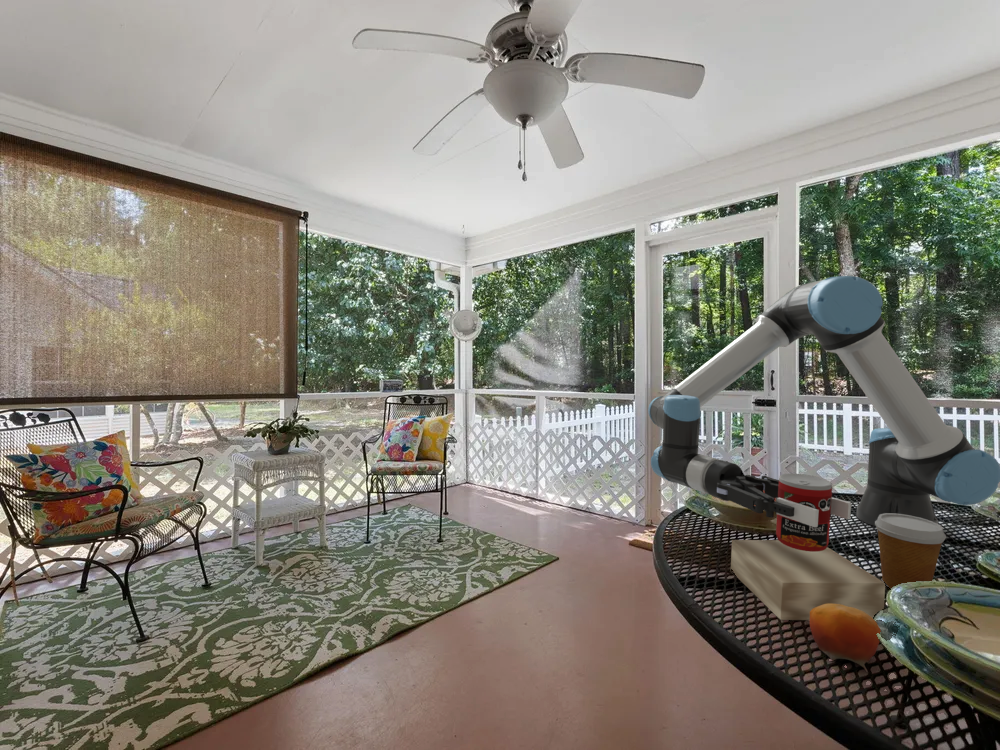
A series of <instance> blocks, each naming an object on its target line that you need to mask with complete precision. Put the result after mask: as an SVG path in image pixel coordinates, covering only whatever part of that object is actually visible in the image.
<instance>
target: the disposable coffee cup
mask: <svg viewBox="0 0 1000 750" xmlns="http://www.w3.org/2000/svg"><path fill="white" fill-rule="evenodd" d="M875 525H876V526H875V528H876V530H877V535H878V536H877V537H878V547H879V549H878V550H879V558H880V568H881V579H882V580H883V581H884V582H885V583H886V584H887V585H888V586H889V588H892V587H893V586H896V585H898V584H901V583H907V582H916V581H932V582H933V579H934V576H935V571H936V568H937V563H938V561H939V560H938V559H939V556H940V551H941V548H942V544H943V543H944V541H945V540H946V539H947V535H946V534H945V532H944V528H943V526H942V525H940V524H939V523H938V524H937V523H935V522H932V521H929V520H926V519H923V518H919V517H915V516H910V515H904V514H895V513H885V514H880V515H879V516H878V519H877V520H876V521H875ZM882 580H881V581H882ZM889 588H888V589H889Z"/></svg>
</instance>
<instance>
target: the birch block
mask: <svg viewBox="0 0 1000 750" xmlns="http://www.w3.org/2000/svg"><path fill="white" fill-rule="evenodd" d="M730 552H731V553H730V555H731V556H730V557H731V558H730V570H731V569H732V570H733V571H734V573H735V575H736V576H737V579H738V580H739V581H740V582H741V583H742V584H743V585H745V587H747V588H748V590H750V592H752V594H753V595H754V596H755V597H756V598H757V599H759V600H760V601H761V602H762V603H763V605H765V606H766V607H767V608H768V609H769V610H770V611H771V612H772V613H773V614H774V615H775V616H776V617H777V618H778V619H779V620H780V621H789V620H790V621H810V611H811V610H812V609H813V608H815V607H818V606H820V605H823V604H828V603H829V604H830V603H832V604H841V605H844V606H847V607H853V608H856V609H858V610H861V611H864V612H865V613H866V614H868V615H869V616H871V617H872V618H873V617H874V615H875V614H876V613H877V612H878V611H880V610H882V609H884V610H885V608H884V607H885V595H886V586H885V583H884V582H883V581H882V580H881V579H880V578H878V577H876V576H874V575H873V574H871V573H869V572H868V571H867V570H865V569H863V568H861V566H859V565H857V564H855V563H854V562H852V561H850V560H849V559H847V558H846V557H844V556H842V555H841V554H839V553H837V552H836V551H834V550H833V549H831V548H829V547H828V546H827V548H826V549H825V550H823V551H818V552H811V551H803V550H798V549H794V548H791V547H789V546H786V545H784V544H783V543H781V542H780V541H779V540H778V539H773V540H772V539H756V540H755V539H731V551H730ZM735 575H734V576H735ZM736 576H735V577H736Z"/></svg>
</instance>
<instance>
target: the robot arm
mask: <svg viewBox="0 0 1000 750" xmlns="http://www.w3.org/2000/svg"><path fill="white" fill-rule="evenodd" d="M883 305H884V303H883V298H882V296H881V293H880V291H879V289H878V288H877V287H876V286H875V285H874V284H873V283H872V282H870V281H869V280H868V279H865V278H862V277H859V276H856V275H855V276H853V275H838V276H837V275H836V276H830V277H826V278H824V279H821V280H817V281H813V282H807V283H803V284H800V285H798V286H796V287H794V288H793V289H791V290H789V291H787V292H786V293H785V294H784V295H782V296H781V297H780V298H778V299H777V300H776V301H775V302H774V303H772V304H771V305H770V306H769V307H768V308H767V309H765V310H764V311H763V312H762V313H760V314H759V315H758V316H757V317H756V319H755V323H754V324H753V325H752V326H751V327H750V328H748V329H747V330H746V331H744V332H743V333H742V334H741V335H740V336H738V337H736V338H735V339H734V340H733V341H732V342H731V343H729V344H728V345H727V346H725V347H724V348H723V349H721V350H720V351H719V352H718V353H717V354H715V355H714V356H713V357H712V358H710V359H709V360H708V361H706V362H705V363H704V364H702V365H701V366H700V367H698V369H696V370H695V371H693V372H692V373H691V374H690V375H688V376H687V377H686V378H685V379H684V380H683V381H681V382H680V383H678V384H677V385H676V386H675V387H673V388H672V389H671V390H669V391H668V392H667V393H666V394H665V395H662V396H657V397H655V398H653V400H651V402H650V403H649V405H648V408H647V409H648V410H647V411H648V412H647V413H648V416H649V419H650V420H651V422H652V423H653V424H654V425H656V426H657V427H659V428H661V429H662V444H661V445H660V446H658V447H655V449H654V451H653V455H652V456H651V458H650V467H651V469H652V471H653V473H654V474H656V475H657V476H658V477H661V479H662V478H663V479H665V480H667V481H668V482H670V483H674V484H677V485H680V486H684V487H687V488H689V489H692V490H696V491H697V492H700V494H701V495H703V496H704V495H706V494H707V495H710V496H711V497H714V498H717V499H719V500H723V501H725V502H732V503H734V504H736V505H739V506H741V507H743V508H745V509H748V510H750V511H753V512H754V513H757V514H764V512H766V513H765V516H766V518H770V519H771V518H774V513H775V515H777V514H778V515H781V516H784V517H787V518H789V519H792V520H795V521H798V522H801V523H804V524H807V525H809V526H812V527H818V513H819V510H817V509H814V508H811V507H808V506H805V505H802V504H798V503H795V502H792V501H789V500H786V499H783V498H778V485H779V479H776V478H773V477H771V476H767V475H762V476H761V478H760V477H757V476H756V475H750V474H745V473H744V471H743V470H742V468H741V467H740V466H739V465H738V464H737V463H733V462H729V461H726V460H722V459H719V458H715V457H711V456H707V455H705V454H704V455H703V454H699V440H700V426H701V425H700V424H701V415H702V411H701V408H702V406H704V405H705V404H707V403H708V402H709V401H711V400H712V399H713V398H715V396H717V395H719V394H720V393H721V392H722V391H724V390H725V389H726V388H727V387H729V386H730V385H731V384H733V383H734V382H735V381H737V380H738V379H739V378H741V377H742V376H743V375H744V374H746V373H747V372H748V371H750V370H751V369H752V368H754V367H755V366H756V365H758V364H759V363H760V362H761V361H763V360H764V359H765V358H767V357H768V356H769V355H770V354H772V353H773V352H775V351H776V350H777V349H778V348H780V347H781V348H787V347H788V346H789V345H791V344H792V343H793V342H794V341H797V340H798V339H801V338H803V337H807V336H809V335H813V336H814V337H815V339H816V340H817V341H818V344H820V346H821V348H822V349H823V350H824V351H825V352H828V353H833V354H837V356H838V357H839V359H840V360H841V362H842V363H843V364H844V366H845V368H847V370H848V372H849V373H850V375H851V376H852V378H853V379H854V380H855V382H856V383H857V384H858V385H859V387H860V389H861V390H862V392H863V393H864V395H865V396H866V397H867V399H868V400H869V402H870V403H871V404H872V407H874V410H876V412H877V413H878V414H879V416H880V417H881V420H883V422H884V423H885V425H886V426H887V427H878V428H875V429H873V430H872V431H871V432H870V437H869V441H868V445H869V447H868V465H867V466H868V467H867V469H868V470H867V483H866V487H865V488H866V489H865V491H864V492H863V495H862V497H861V499H860V501H859V503H858V505H857V507H856V518H857V519H859V520H860V521H861V522H864V523H865V524H868V525H870V526H874V527H876V525H875V521H876V520H877V519H878V516H879V515H880V514H885V513H895V514H904V515H910V516H915V517H919V518H923V519H926V520H929V521H932V522H935V523H937V524H939V520H938V518H937V516H936V513H935V509H934V505H933V503H932V500H931V496H934V497H936V498H938V499H940V500H942V501H943V502H948V503H953V504H956V505H961V506H971V505H972V506H973V505H976V504H980V503H982V502H985V501H986V500H988V499H989V498H990V497H991V496H993V494H994V493H995V492H996V491H997V490H998V488H999V483H1000V463H999V462H998V460H997V459H996V458H995V457H994V456H993V455H991V454H990V453H987V452H986V451H985V450H982V449H978V448H976V449H975V448H974V447H973V446H972V444H971V442H969V440H968V439H967V437H966V436H965V434H964V433H963V432H962V430H961V429H960V428H958V427H956V426H953V425H946V423H945V421H944V420H943V419H942V417H941V416H940V414H939V412H937V410H936V409H935V407H934V406H933V405H932V403H931V402H930V400H929V399H928V398H927V396H926V395H925V392H923V390H922V389H921V387H920V386H919V385H918V383H917V382H916V380H915V379H914V378H913V375H912V374H911V373H910V372H909V370H908V369H907V367H906V366H905V364H904V363H903V361H902V360H901V359H900V357H899V356H898V355H897V353H896V351H895V350H894V349H893V347H892V346H891V344H890V343H889V342H888V340H887V339H886V337H885V336H884V335H883V333H882V331H883V328H884V327H885V324H886V321H885V320H884V318H883V317H882V316H881V315H882V312H883V310H882V306H883ZM775 499H776V500H775ZM851 511H852V502H850V501H847V500H843V499H840V498H836V497H833V496H832V500H831V514H830V515H833V516H836V517H839V518H842V519H845V520H850V519H851Z"/></svg>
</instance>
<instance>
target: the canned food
mask: <svg viewBox="0 0 1000 750" xmlns="http://www.w3.org/2000/svg"><path fill="white" fill-rule="evenodd" d="M778 478H779V479H778V480H779V485H778V498H783V499H786V500H789V501H792V502H795V503H798V504H802V505H805V506H808V507H811V508H814V509H817V510H819V513H818V527H812V526H809V525H807V524H804V523H801V522H798V521H795V520H792V519H789V518H787V517H784V516H781V515H778V514H776V524H775V526H776V527H775V528H776V529H775V535H776V538H777V539H776V540H779V541H780V542H781V543H783V544H784V545H786V546H789V547H791V548H794V549H798V550H803V551H811V552H818V551H823V550H825V549H826V548H827V547H828V545H829V541H830V530H831V529H830V527H831V525H830V524H831V515H832V514H831V500H832V497H833V484H832V482H831V481H830V480H827V479H825V478H824V477H819V476H815V475H810V474H803V473H783V474H781V475H779V477H778Z"/></svg>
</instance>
